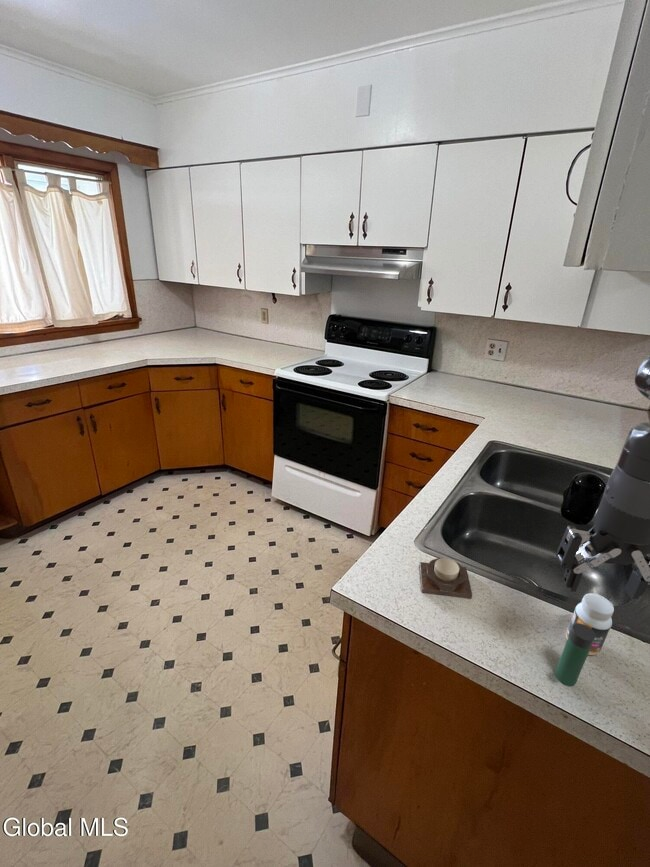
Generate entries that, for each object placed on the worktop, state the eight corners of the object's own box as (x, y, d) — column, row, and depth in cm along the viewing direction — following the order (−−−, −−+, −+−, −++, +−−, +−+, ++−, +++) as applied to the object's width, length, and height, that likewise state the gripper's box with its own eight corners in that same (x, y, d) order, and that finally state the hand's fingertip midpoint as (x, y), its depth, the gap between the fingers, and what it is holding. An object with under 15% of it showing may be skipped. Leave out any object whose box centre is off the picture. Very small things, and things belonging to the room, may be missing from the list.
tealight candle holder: (465, 571, 94) (467, 560, 93) (471, 599, 87) (473, 588, 85) (419, 565, 95) (421, 555, 94) (421, 593, 88) (423, 582, 87)
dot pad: (456, 565, 92) (457, 559, 91) (459, 582, 87) (461, 576, 87) (432, 563, 92) (433, 556, 92) (434, 579, 88) (436, 573, 87)
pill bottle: (565, 649, 77) (580, 609, 72) (564, 625, 81) (578, 586, 77) (601, 661, 74) (619, 621, 70) (598, 636, 79) (615, 597, 75)
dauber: (571, 669, 73) (590, 624, 68) (579, 687, 70) (598, 641, 65) (552, 667, 73) (569, 621, 69) (558, 684, 71) (576, 638, 66)
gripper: (592, 511, 54) (558, 604, 61) (715, 523, 52) (666, 617, 59) (569, 480, 60) (542, 567, 67) (678, 490, 59) (638, 578, 66)
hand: (600, 591), depth 63 cm, fingers open, 8 cm apart
